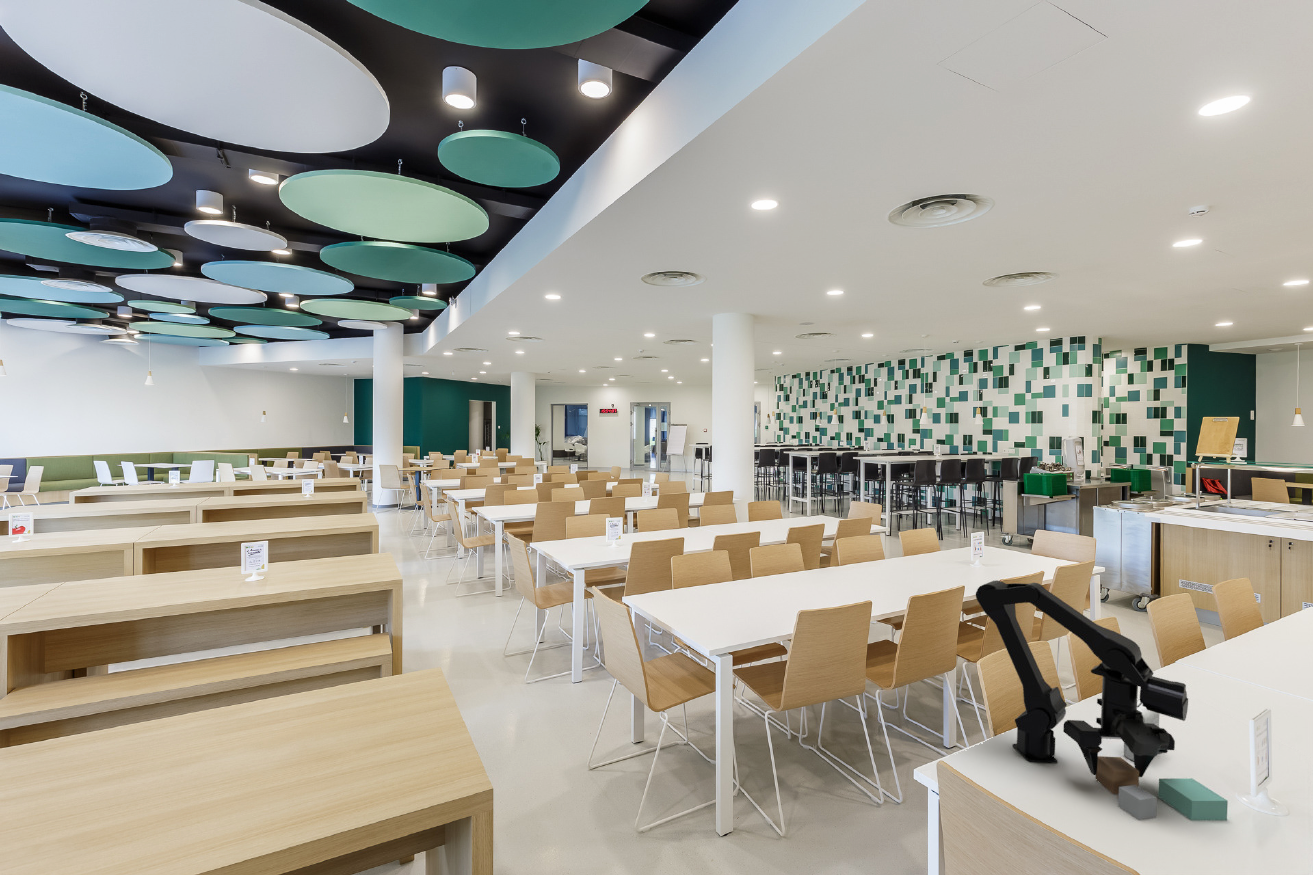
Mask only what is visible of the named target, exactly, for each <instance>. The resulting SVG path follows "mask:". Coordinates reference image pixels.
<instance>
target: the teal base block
mask: <svg viewBox="0 0 1313 875" xmlns="http://www.w3.org/2000/svg"><path fill="white" fill-rule="evenodd" d="M1157 795H1158V798H1159V799H1160V800H1162V801H1164V803H1166V804H1168V805H1170V806H1171V807H1172V808H1173V809H1175V810H1176V811H1178V812H1179V813H1180V814H1181V815H1183V816H1184V817H1186V818H1187V819H1188V820H1190V821H1228V799H1226V798H1225V797H1222V796H1221V795H1220V794H1218V793H1216V792H1214V790H1212V789H1210V788H1208V787H1206V786H1205V785H1203V784H1202V783H1200V781H1197V780H1196V779H1194V778H1193V777H1191V778H1187V777H1186V778H1183V777H1182V778H1178V777H1177V778H1158V794H1157Z"/></svg>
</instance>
